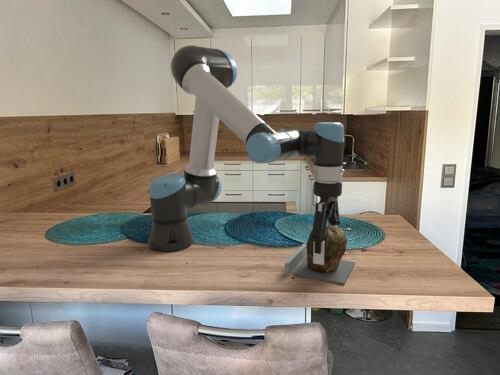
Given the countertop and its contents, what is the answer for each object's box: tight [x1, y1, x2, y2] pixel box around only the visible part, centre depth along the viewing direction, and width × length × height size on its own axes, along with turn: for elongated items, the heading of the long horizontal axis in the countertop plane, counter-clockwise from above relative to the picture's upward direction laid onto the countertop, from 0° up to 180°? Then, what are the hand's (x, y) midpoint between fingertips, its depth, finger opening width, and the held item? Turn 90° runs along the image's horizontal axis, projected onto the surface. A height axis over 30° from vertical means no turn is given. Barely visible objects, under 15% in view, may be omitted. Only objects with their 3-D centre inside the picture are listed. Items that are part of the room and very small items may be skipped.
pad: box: [292, 256, 356, 286], centre depth 102 cm, size 14×14×1 cm
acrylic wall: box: [284, 242, 307, 276], centre depth 105 cm, size 1×16×4 cm, turn 153°
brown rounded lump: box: [306, 225, 348, 273], centre depth 100 cm, size 11×11×12 cm
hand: (325, 254), depth 101 cm, fingers open, 13 cm apart
